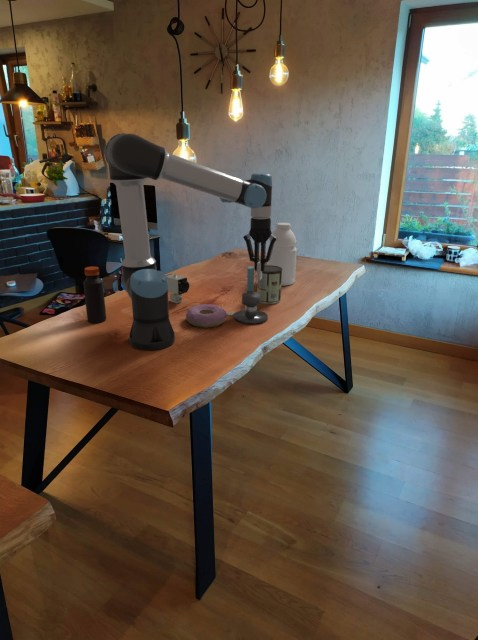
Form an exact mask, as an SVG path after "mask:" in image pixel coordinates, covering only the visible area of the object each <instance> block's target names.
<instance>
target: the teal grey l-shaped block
mask: <svg viewBox="0 0 478 640" xmlns="http://www.w3.org/2000/svg"><path fill="white" fill-rule="evenodd" d="M246 273H247V274H246V292H243V293H242V294H241V303H242V305H244V306H245V305H247V306H256V305H257V306H259V305H261V303H260V299H261V295H260V294H258V293H257V292H254V290H255V289H254V288H255V287H254V285H255V265H254V266H253V265H252V266H251V265H249V266H247V271H246Z"/></svg>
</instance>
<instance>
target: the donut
mask: <svg viewBox="0 0 478 640" xmlns="http://www.w3.org/2000/svg"><path fill="white" fill-rule="evenodd" d="M227 317H228V316H227V311H226V310H225V309H224V308H223V307H222V306H220V305H215V304H209V303H208V304H203V303H202V304H198V305H193V306H192V307H190V308H189V309H188V310H187V311H186V315H185V318H186V320H187V322H189V324H191V325H192V326H193V327H199V328H206V329H207V328H215V327H218V326H220V325H221V324H223V323H225V322H226V319H227Z"/></svg>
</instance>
